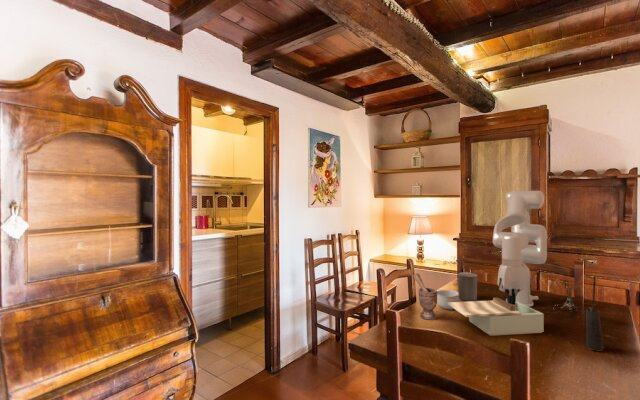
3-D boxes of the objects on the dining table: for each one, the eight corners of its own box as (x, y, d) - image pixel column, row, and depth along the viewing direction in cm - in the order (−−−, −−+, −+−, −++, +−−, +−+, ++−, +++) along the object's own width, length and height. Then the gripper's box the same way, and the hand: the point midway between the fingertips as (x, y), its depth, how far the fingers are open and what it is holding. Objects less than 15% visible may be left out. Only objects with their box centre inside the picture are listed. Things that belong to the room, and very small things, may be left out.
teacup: (462, 311, 168) (462, 295, 168) (440, 311, 168) (440, 295, 168) (451, 302, 182) (451, 287, 182) (431, 302, 182) (431, 287, 182)
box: (517, 318, 158) (517, 301, 158) (543, 332, 142) (543, 313, 142) (469, 320, 156) (469, 303, 155) (490, 335, 140) (490, 316, 139)
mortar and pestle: (410, 317, 161) (410, 275, 160) (415, 311, 168) (414, 271, 168) (435, 321, 155) (435, 278, 154) (439, 315, 162) (439, 274, 162)
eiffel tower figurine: (585, 308, 172) (585, 282, 172) (590, 315, 163) (590, 287, 163) (550, 304, 179) (550, 279, 179) (553, 310, 170) (553, 284, 170)
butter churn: (577, 340, 135) (578, 270, 134) (609, 347, 129) (610, 274, 128) (577, 348, 128) (577, 275, 127) (610, 356, 122) (611, 279, 121)
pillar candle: (459, 300, 185) (459, 273, 185) (457, 295, 194) (457, 269, 194) (478, 302, 182) (478, 274, 182) (475, 296, 191) (475, 270, 191)
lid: (496, 301, 157) (496, 296, 157) (520, 314, 141) (520, 307, 141) (447, 304, 154) (447, 298, 154) (466, 316, 138) (466, 310, 138)
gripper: (521, 260, 153) (521, 300, 154) (490, 261, 152) (490, 301, 152) (533, 264, 146) (533, 306, 146) (500, 265, 144) (500, 307, 145)
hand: (511, 303), depth 149 cm, fingers closed
